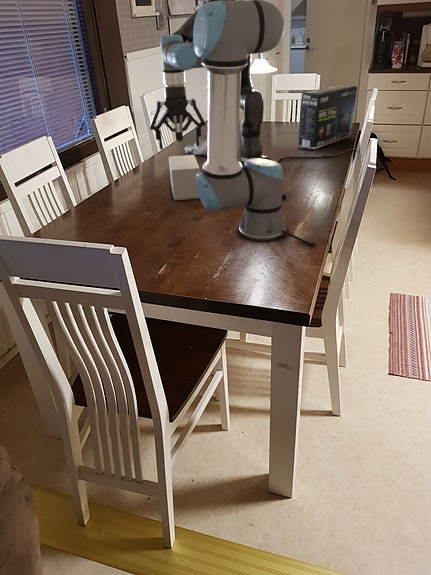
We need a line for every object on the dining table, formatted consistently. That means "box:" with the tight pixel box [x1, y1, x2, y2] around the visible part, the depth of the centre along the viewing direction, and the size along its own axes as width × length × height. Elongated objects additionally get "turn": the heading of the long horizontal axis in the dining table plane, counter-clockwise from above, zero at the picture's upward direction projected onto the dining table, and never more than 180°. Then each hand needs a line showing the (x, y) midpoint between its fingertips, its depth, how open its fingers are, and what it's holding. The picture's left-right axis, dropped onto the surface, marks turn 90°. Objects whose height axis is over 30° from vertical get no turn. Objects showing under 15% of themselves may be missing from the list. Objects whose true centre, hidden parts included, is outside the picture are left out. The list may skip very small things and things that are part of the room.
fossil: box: [184, 137, 208, 157], centre depth 236 cm, size 18×11×15 cm
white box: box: [168, 154, 201, 201], centre depth 184 cm, size 20×10×12 cm, turn 8°
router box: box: [297, 84, 358, 151], centre depth 238 cm, size 36×11×27 cm, turn 134°
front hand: (179, 147), depth 171 cm, fingers open, 13 cm apart
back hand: (179, 141), depth 191 cm, fingers closed
